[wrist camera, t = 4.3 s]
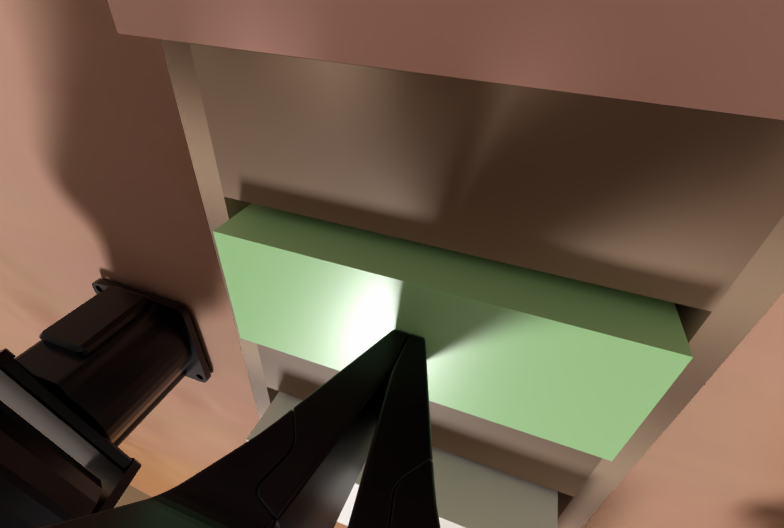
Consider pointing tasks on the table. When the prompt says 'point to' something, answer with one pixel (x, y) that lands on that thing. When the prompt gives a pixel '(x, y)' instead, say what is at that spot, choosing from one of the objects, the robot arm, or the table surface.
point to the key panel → (500, 209)
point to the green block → (458, 324)
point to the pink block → (512, 42)
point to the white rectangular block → (460, 488)
